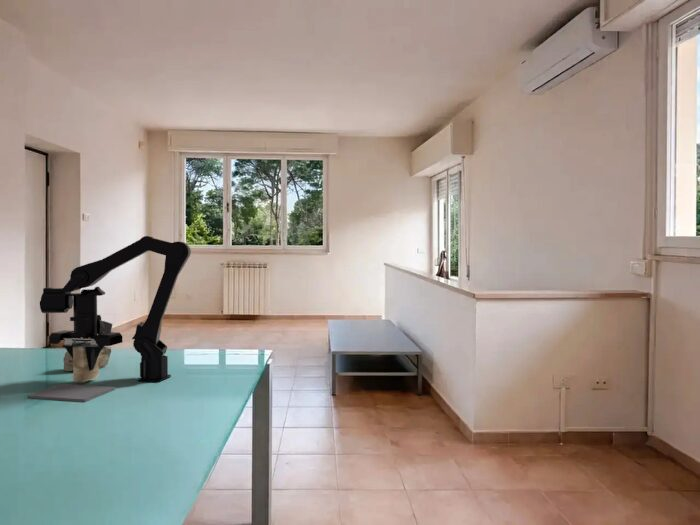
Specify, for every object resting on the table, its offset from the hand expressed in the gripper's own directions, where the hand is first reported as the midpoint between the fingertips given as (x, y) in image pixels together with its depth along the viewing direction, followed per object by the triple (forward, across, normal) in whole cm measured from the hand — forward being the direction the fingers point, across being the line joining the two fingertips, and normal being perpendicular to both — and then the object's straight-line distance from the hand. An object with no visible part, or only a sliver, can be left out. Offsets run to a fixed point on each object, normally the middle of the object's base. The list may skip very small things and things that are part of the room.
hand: (86, 369), depth 139 cm
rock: (+4, +10, -13) cm, 17 cm away
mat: (+4, -4, +10) cm, 11 cm away
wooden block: (+3, 0, 0) cm, 3 cm away
